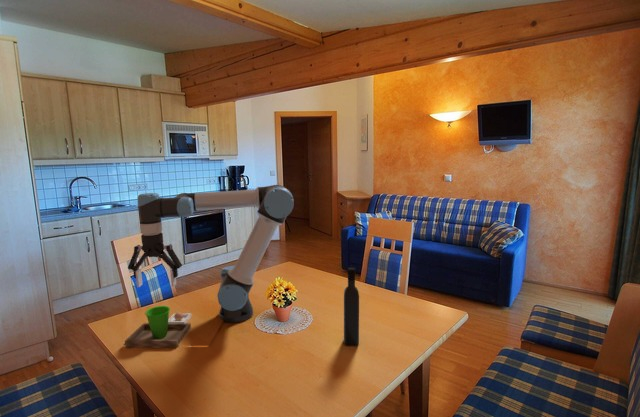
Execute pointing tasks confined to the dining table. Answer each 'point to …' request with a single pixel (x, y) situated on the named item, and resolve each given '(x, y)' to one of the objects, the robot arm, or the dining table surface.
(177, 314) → the ball
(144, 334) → the tray
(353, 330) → the wine bottle
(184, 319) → the dish
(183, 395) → the dining table surface
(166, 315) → the cup
